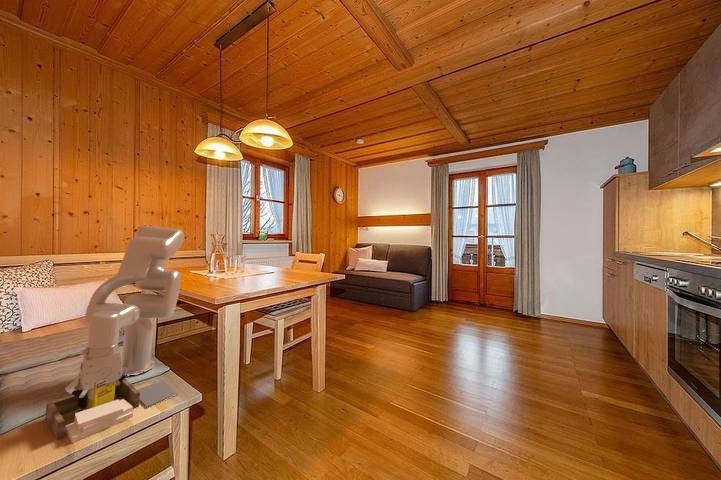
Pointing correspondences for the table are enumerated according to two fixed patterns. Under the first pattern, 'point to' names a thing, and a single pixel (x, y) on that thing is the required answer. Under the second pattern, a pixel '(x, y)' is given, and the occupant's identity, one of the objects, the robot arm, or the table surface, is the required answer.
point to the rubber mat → (155, 393)
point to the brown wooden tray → (70, 404)
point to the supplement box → (100, 394)
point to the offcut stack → (98, 419)
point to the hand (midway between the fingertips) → (98, 400)
